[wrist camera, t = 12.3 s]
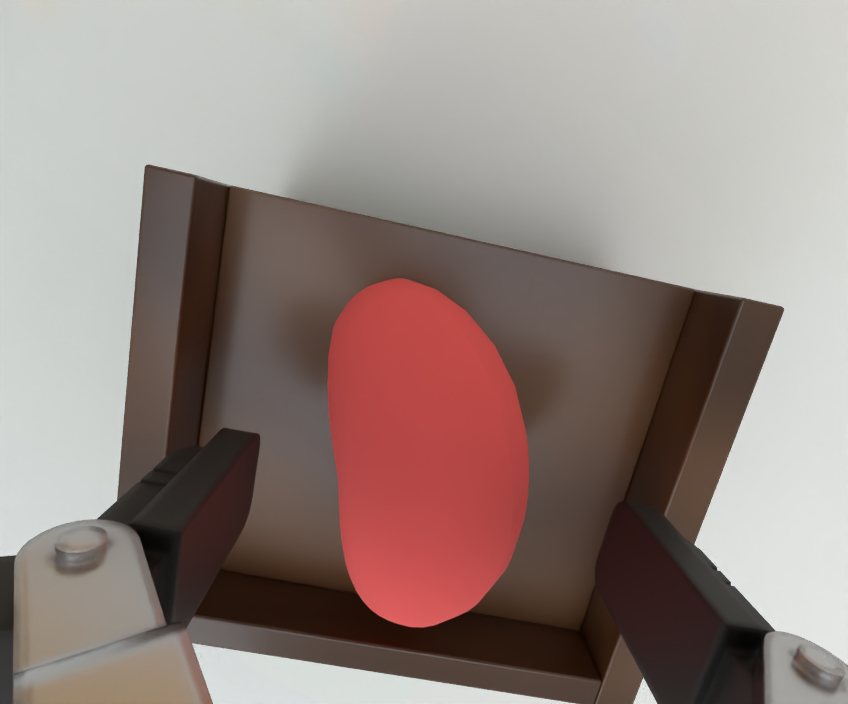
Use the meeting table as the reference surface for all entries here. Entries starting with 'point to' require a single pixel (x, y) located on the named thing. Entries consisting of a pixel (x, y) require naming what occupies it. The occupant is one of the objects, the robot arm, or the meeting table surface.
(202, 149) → the meeting table surface
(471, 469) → the red rounded oblong piece
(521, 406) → the rack
